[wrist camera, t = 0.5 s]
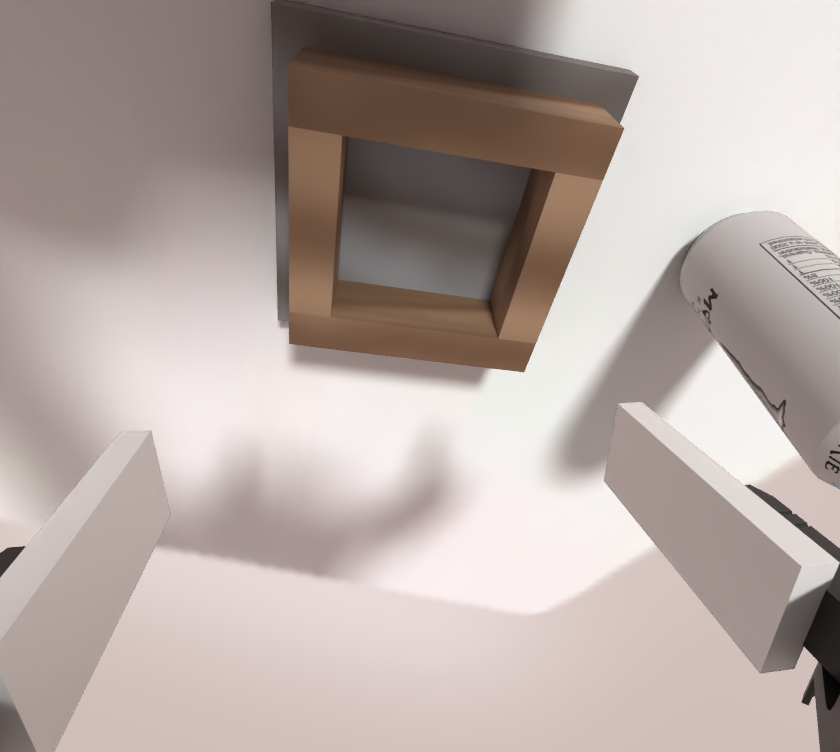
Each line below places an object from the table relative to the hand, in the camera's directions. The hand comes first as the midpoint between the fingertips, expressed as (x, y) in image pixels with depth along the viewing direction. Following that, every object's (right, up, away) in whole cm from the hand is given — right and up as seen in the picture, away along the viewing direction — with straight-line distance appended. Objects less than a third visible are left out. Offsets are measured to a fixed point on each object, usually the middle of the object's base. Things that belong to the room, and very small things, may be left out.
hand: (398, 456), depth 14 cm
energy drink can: (+18, +9, +14) cm, 24 cm away
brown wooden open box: (+1, +11, +11) cm, 16 cm away
